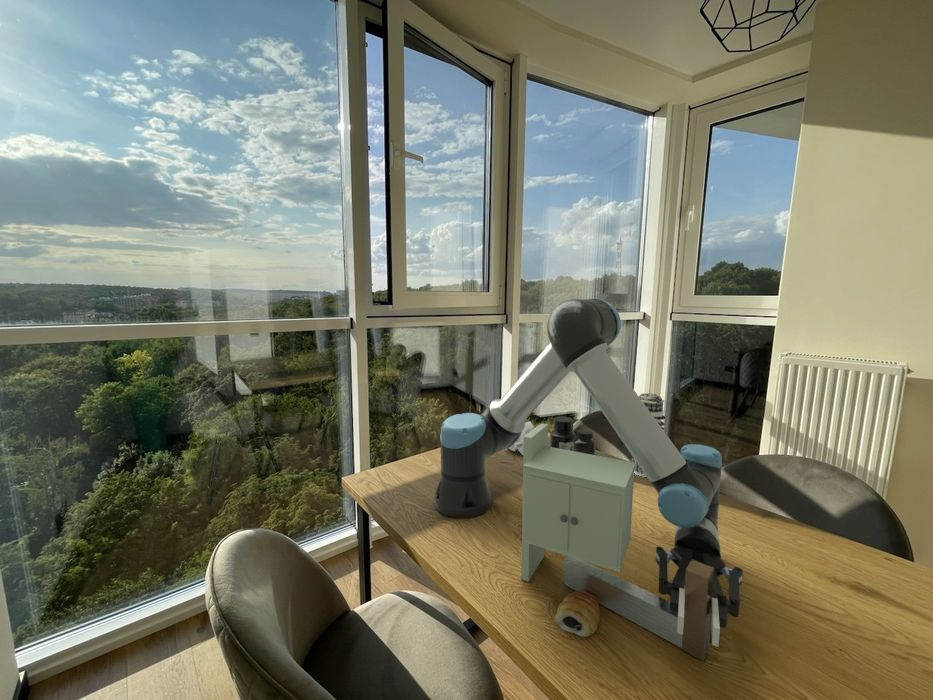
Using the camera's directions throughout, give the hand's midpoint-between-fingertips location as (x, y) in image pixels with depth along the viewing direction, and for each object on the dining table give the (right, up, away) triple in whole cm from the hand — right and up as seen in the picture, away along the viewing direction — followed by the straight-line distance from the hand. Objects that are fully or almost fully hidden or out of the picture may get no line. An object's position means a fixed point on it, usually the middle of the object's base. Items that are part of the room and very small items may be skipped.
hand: (698, 630), depth 58 cm
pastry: (-13, -7, +13) cm, 20 cm away
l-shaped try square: (-4, -6, +14) cm, 16 cm away
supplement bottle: (+6, +1, +76) cm, 76 cm away
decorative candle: (+24, 0, +72) cm, 76 cm away
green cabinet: (-12, -6, +20) cm, 24 cm away
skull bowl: (-12, +3, +90) cm, 91 cm away
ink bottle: (+2, +3, +90) cm, 90 cm away
